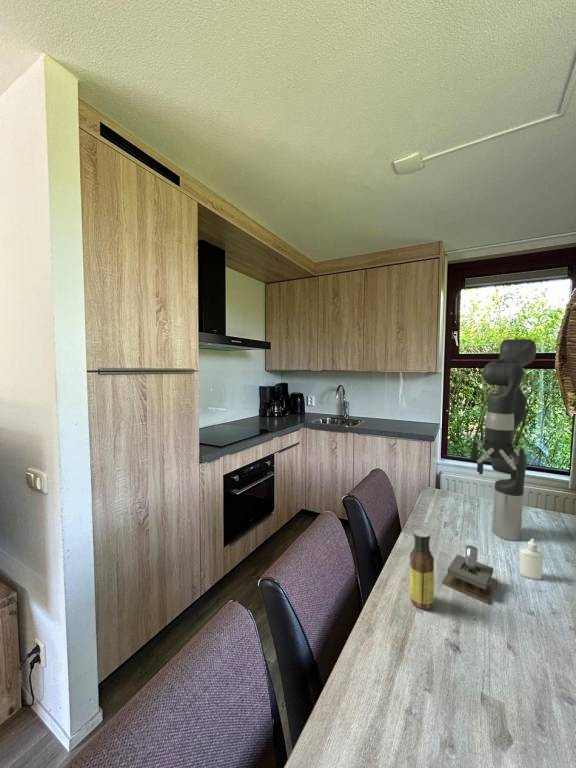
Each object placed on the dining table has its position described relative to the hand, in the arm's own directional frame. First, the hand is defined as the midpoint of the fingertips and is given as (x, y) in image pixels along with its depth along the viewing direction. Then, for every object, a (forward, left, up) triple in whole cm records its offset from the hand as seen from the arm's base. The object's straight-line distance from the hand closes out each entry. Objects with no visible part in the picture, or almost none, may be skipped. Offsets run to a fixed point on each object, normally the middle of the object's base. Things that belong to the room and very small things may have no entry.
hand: (496, 477), depth 104 cm
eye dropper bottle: (-4, +10, -30) cm, 32 cm away
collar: (+13, -3, -27) cm, 30 cm away
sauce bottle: (+31, -11, -30) cm, 45 cm away
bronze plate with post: (+13, -3, -30) cm, 33 cm away
